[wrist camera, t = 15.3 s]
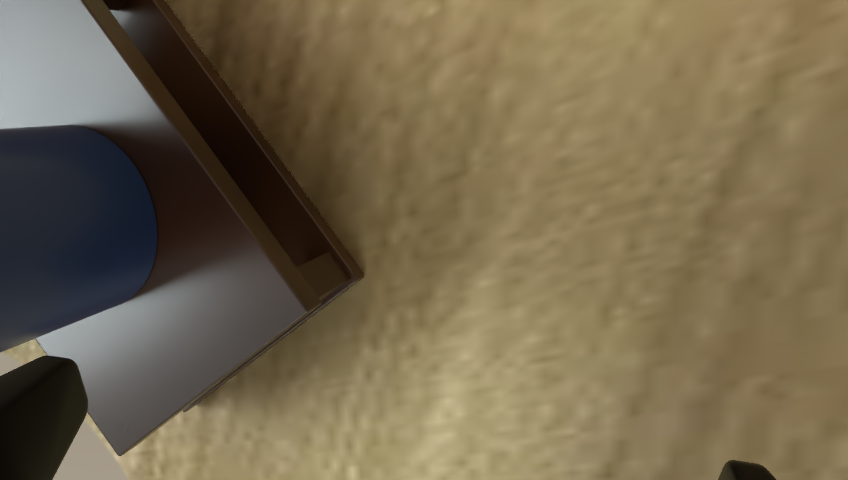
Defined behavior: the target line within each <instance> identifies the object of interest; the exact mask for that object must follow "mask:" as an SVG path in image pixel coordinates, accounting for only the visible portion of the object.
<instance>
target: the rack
mask: <svg viewBox="0 0 848 480" xmlns="http://www.w3.org/2000/svg"><path fill="white" fill-rule="evenodd" d="M56 125H76V126H81V127H85V128H88V129H91V130H94V131H96V132H98V133H100V134H102V135H103V136H105V137H107V138H108V139H109V140H111V141H112V142H114V143H115V144H116V145H117V146H118V147H119V148H120V149H121V150H123V151H124V153H125V154H126V155H127V156H128V157H129V158H130V160H131V161H132V162H133V164H134V165H135V166H136V168H137V169H138V171H139V173H140V174H141V176H142V178H143V180H144V182H145V184H146V186H147V189H148V191H149V193H150V196H151V199H152V203H153V206H154V210H155V215H156V221H157V250H156V256H155V260H154V264H153V267H152V270H151V272H150V274H149V277H148V278H147V280H146V282H145V283H144V285H143V286H142V287H141V289H140V290H139V291H138V292H137V293H136V294H135V295H134V296H133V297H132V298H131V299H129V300H127V301H126V302H124V303H122V304H120V305H118V306H115V307H113V308H110V309H108V310H105V311H103V312H100V313H98V314H95V315H93V316H90V317H87V318H85V319H82V320H80V321H77V322H75V323H72V324H70V325H67V326H65V327H62V328H60V329H57V330H55V331H52V332H50V333H47V334H45V335H42V336H40V337H37V338H35V339H36V341H37V342H38V343H39V345H40V346H41V348H42V349H43V350H44V352H45V353H46V355H47V356H56V357H63V358H69V359H72V360H73V361H74V362H75V363H76V364H77V366H78V368H79V371H80V375H81V378H82V381H83V384H84V387H85V391H86V394H87V397H88V410H87V412H88V414H89V415H90V417H91V418H92V419H93V421H94V422H95V424H96V425H97V426H98V428H99V429H100V431H101V432H102V434H103V435H104V436H105V438H106V439H107V441H108V442H109V443H110V445H111V446H112V448H113V449H114V450H115V452H116V453H117V455H118V456H122V455H123V454H125V453H126V452H128V451H129V450H131V449H132V448H133V447H135V446H136V445H138V444H139V443H140V442H142V441H143V440H144V439H146V438H147V437H148V436H150V435H151V434H152V433H153V432H155V431H156V430H157V429H159V428H160V427H161V426H163V425H164V424H165V423H167V422H168V421H169V420H170V419H172V418H173V417H174V416H176V415H177V414H178V413H180V412H181V411H182V410H183V412H186V411H188V410H189V409H191V408H192V407H194V406H195V405H196V404H198V403H199V402H200V401H202V400H203V399H204V398H206V397H207V396H208V395H209V394H211V393H212V392H213V391H215V390H216V389H217V388H219V387H220V386H221V385H223V384H224V383H225V382H227V381H228V380H229V379H231V378H232V377H233V376H234V375H236V374H237V373H238V372H240V371H241V370H242V369H244V368H245V367H246V366H248V365H249V364H250V363H252V362H253V361H254V360H256V359H257V358H258V357H259V356H261V355H262V354H263V353H265V352H266V351H267V350H269V349H270V348H271V347H273V346H274V345H275V344H277V343H278V342H279V341H281V340H282V339H283V338H284V337H286V336H287V335H288V334H290V333H291V332H292V331H294V330H295V329H296V328H298V327H299V326H300V325H302V324H303V323H304V322H306V321H307V320H308V319H310V318H311V317H312V316H313V315H315V314H316V313H317V312H319V311H320V310H321V309H323V308H324V307H325V306H327V305H328V304H329V303H331V302H332V301H333V300H335V299H336V298H337V297H338V296H340V295H341V294H342V293H344V292H345V291H346V290H348V289H349V288H350V287H352V286H353V285H354V284H356V283H357V282H358V281H360V280H361V279H362V278H363V277H364V274H363V273H362V271H361V270H360V268H359V267H358V266H357V264H356V263H355V262H354V260H353V259H352V257H351V256H350V255H349V253H348V252H347V251H346V249H345V248H344V247H343V245H342V244H341V242H340V241H339V240H338V238H337V237H336V236H335V234H334V233H333V231H332V230H331V229H330V227H329V226H328V225H327V223H326V222H325V220H324V219H323V218H322V216H321V215H320V214H319V212H318V211H317V210H316V208H315V207H314V205H313V204H312V203H311V201H310V200H309V199H308V197H307V196H306V194H305V193H304V192H303V190H302V189H301V188H300V186H299V185H298V184H297V182H296V181H295V179H294V178H293V177H292V175H291V174H290V173H289V171H288V170H287V168H286V167H285V166H284V164H283V163H282V162H281V160H280V159H279V157H278V156H277V155H276V153H275V152H274V151H273V149H272V148H271V147H270V145H269V144H268V142H267V141H266V140H265V138H264V137H263V136H262V134H261V133H260V131H259V130H258V129H257V127H256V126H255V125H254V123H253V122H252V120H251V119H250V118H249V116H248V115H247V114H246V112H245V111H244V110H243V108H242V107H241V105H240V104H239V103H238V101H237V100H236V99H235V97H234V96H233V94H232V93H231V92H230V90H229V89H228V88H227V86H226V85H225V84H224V82H223V81H222V79H221V78H220V77H219V75H218V74H217V73H216V71H215V70H214V68H213V67H212V66H211V64H210V63H209V62H208V60H207V59H206V57H205V56H204V55H203V53H202V52H201V51H200V49H199V48H198V47H197V45H196V44H195V42H194V41H193V40H192V38H191V37H190V36H189V34H188V33H187V31H186V30H185V29H184V27H183V26H182V25H181V23H180V22H179V20H178V19H177V18H176V16H175V15H174V14H173V12H172V11H171V10H170V8H169V7H168V5H167V4H166V3H165V1H164V0H0V129H6V128H22V127H39V126H56Z"/></svg>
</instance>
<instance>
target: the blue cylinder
mask: <svg viewBox="0 0 848 480" xmlns="http://www.w3.org/2000/svg"><path fill="white" fill-rule="evenodd" d="M156 250H157V221H156V215H155V210H154V206H153V203H152V199H151V196H150V193H149V191H148V189H147V186H146V184H145V182H144V180H143V178H142V176H141V174H140V173H139V171H138V169H137V168H136V166H135V165H134V164H133V162H132V161H131V160H130V158H129V157H128V156H127V155H126V154H125V153H124V151H123V150H121V149H120V148H119V147H118V146H117V145H116V144H115V143H114V142H112V141H111V140H109V139H108V138H107V137H105V136H103V135H102V134H100V133H98V132H96V131H94V130H91V129H88V128H85V127H81V126H76V125H56V126H39V127H22V128H6V129H0V352H2V351H5V350H7V349H10V348H12V347H15V346H17V345H20V344H22V343H25V342H27V341H30V340H32V339H35V338H37V337H40V336H42V335H45V334H47V333H50V332H52V331H55V330H57V329H60V328H62V327H65V326H67V325H70V324H72V323H75V322H77V321H80V320H82V319H85V318H87V317H90V316H93V315H95V314H98V313H100V312H103V311H105V310H108V309H110V308H113V307H115V306H118V305H120V304H122V303H124V302H126V301H127V300H129V299H131V298H132V297H133V296H134V295H135V294H136V293H137V292H138V291H139V290H140V289H141V287H142V286H143V285H144V283H145V282H146V280H147V278H148V277H149V274H150V272H151V270H152V267H153V264H154V260H155V256H156Z"/></svg>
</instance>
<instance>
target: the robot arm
mask: <svg viewBox="0 0 848 480" xmlns="http://www.w3.org/2000/svg"><path fill="white" fill-rule="evenodd" d="M87 410H88V397H87V394H86V391H85V387H84V384H83V381H82V378H81V375H80V371H79V368H78V366H77V364H76V363H75V362H74V361H73V360H72V359H69V358H63V357H56V356H42V357H40V358H37V359H35V360H33V361H31V362H29V363H27V364H25V365H23V366H21V367H18V368H17V369H14V370H12V371H10V372H8V373H6V374H4V375H2V376H0V480H52V479H53V477H54V475H55V474H56V472H57V470H58V468H59V466H60V464H61V462H62V460H63V458H64V456H65V455H66V453H67V451H68V449H69V447H70V445H71V443H72V441H73V439H74V438H75V436H76V434H77V432H78V430H79V428H80V426H81V424H82V422H83V421H84V419H85V416H86V414H87ZM718 480H776V479H775V478H774V476H773V475H772V474H771V473H770V472H769V471H768V470H767V469H766V468H765V467H763V466H762V465H760V464H756V463H749V462H743V461H736V460H730V461H728V462H727V463H726V464H725V465H724V467H723V469H722V472H721V474H720V476H719V479H718Z"/></svg>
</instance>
